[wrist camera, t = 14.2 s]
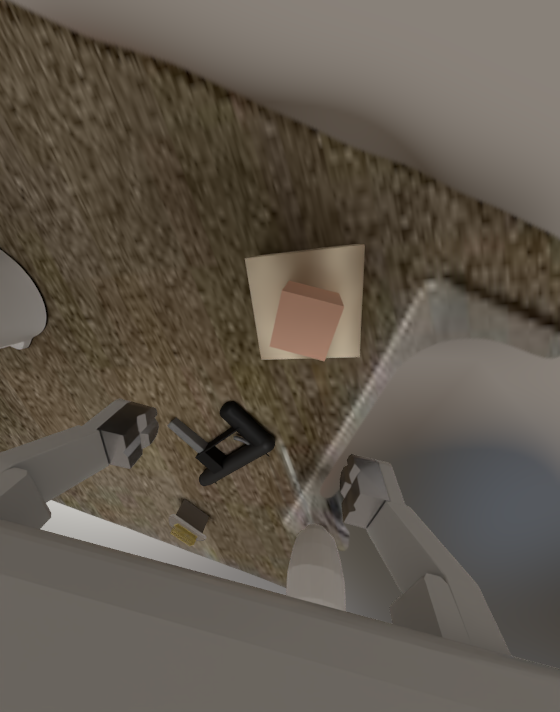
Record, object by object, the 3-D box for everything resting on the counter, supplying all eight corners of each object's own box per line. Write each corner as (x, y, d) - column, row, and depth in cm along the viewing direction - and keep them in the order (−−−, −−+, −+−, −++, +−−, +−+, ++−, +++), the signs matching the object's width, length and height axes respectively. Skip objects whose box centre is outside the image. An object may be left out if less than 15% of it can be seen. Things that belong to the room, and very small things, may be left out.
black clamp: (148, 442, 43) (210, 493, 46) (211, 389, 35) (280, 455, 38) (160, 430, 46) (217, 479, 49) (220, 378, 38) (284, 441, 40)
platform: (207, 531, 60) (195, 562, 54) (154, 493, 56) (134, 523, 50) (237, 520, 55) (227, 553, 49) (181, 478, 51) (163, 508, 45)
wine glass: (302, 454, 41) (288, 628, 22) (341, 464, 40) (360, 650, 22) (293, 478, 44) (275, 646, 26) (330, 488, 44) (337, 665, 25)
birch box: (271, 340, 32) (261, 359, 26) (259, 255, 27) (244, 258, 22) (352, 336, 30) (359, 356, 24) (355, 243, 25) (364, 244, 20)
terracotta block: (278, 327, 24) (269, 346, 20) (289, 280, 22) (281, 290, 18) (323, 339, 24) (324, 361, 20) (338, 293, 22) (344, 306, 17)
